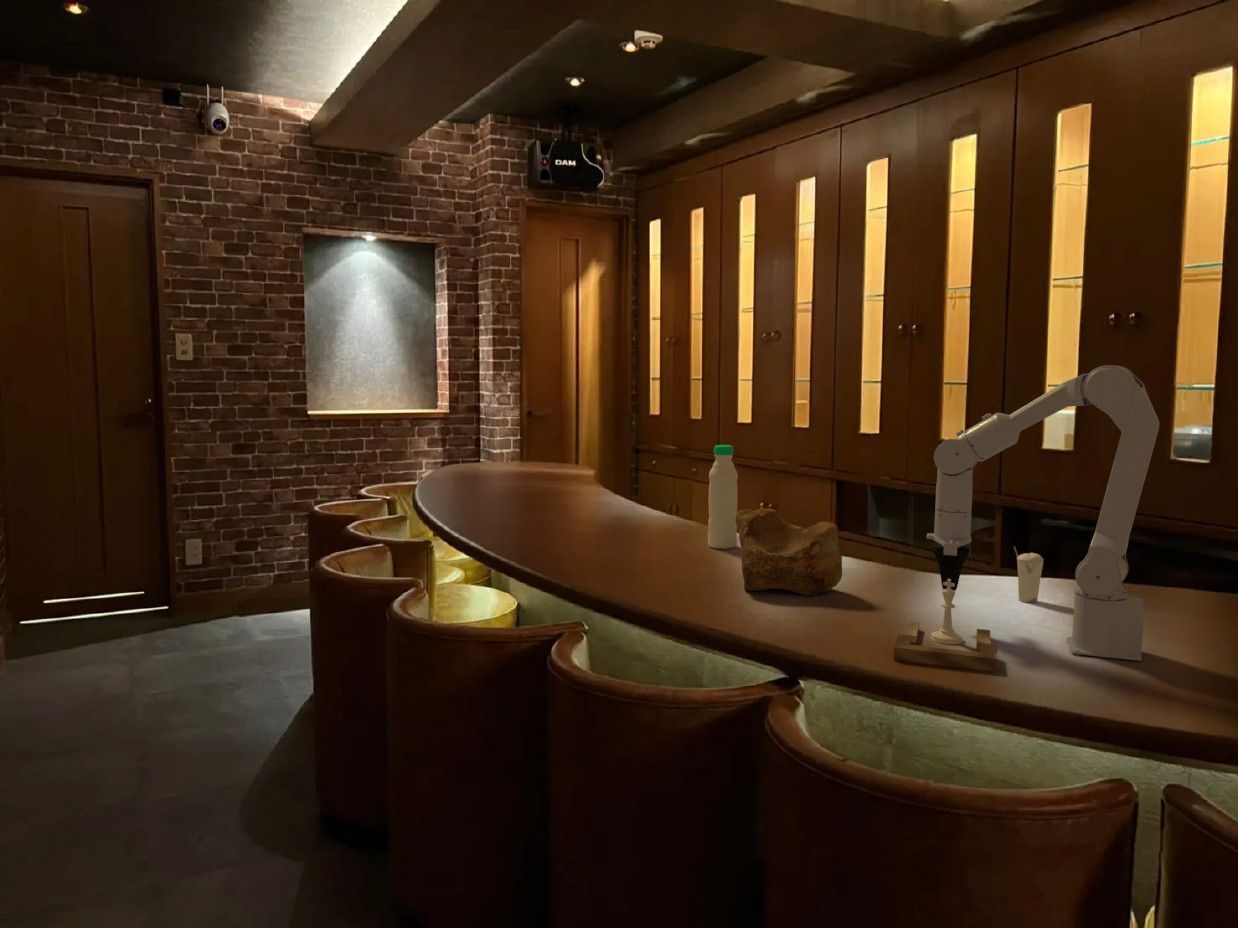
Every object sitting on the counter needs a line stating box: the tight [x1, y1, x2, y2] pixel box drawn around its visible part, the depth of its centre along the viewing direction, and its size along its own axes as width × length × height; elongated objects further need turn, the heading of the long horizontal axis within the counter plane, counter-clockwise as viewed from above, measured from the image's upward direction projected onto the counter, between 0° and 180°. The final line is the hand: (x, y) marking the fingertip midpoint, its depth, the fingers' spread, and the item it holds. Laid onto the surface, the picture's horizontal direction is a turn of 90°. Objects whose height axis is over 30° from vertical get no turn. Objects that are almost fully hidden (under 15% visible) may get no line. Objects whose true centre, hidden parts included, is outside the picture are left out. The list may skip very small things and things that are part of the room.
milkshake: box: [1013, 546, 1044, 604], centre depth 169 cm, size 4×5×10 cm
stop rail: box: [893, 634, 996, 673], centre depth 135 cm, size 14×7×2 cm, turn 68°
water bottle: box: [707, 444, 739, 550], centre depth 219 cm, size 7×7×25 cm
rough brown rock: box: [735, 508, 843, 596], centre depth 178 cm, size 23×17×15 cm
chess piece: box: [930, 579, 964, 645], centre depth 145 cm, size 5×5×10 cm
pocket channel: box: [902, 621, 992, 651], centre depth 145 cm, size 13×8×1 cm, turn 68°
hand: (949, 589), depth 152 cm, fingers closed
